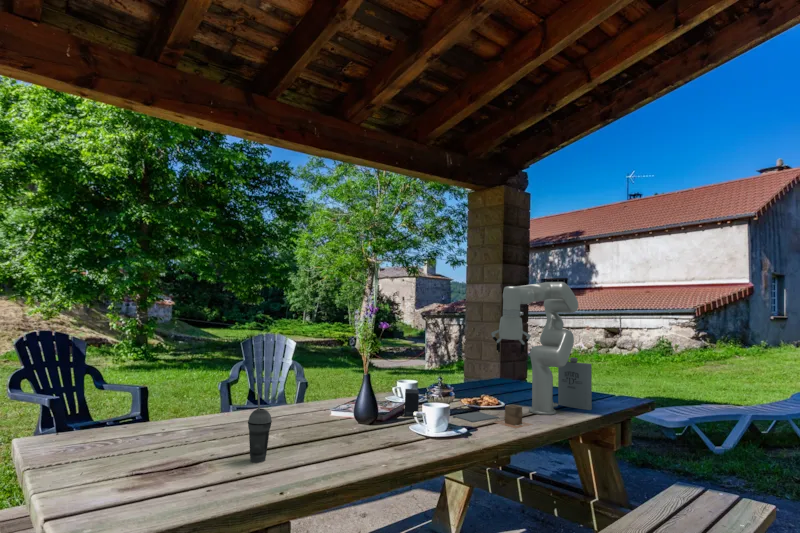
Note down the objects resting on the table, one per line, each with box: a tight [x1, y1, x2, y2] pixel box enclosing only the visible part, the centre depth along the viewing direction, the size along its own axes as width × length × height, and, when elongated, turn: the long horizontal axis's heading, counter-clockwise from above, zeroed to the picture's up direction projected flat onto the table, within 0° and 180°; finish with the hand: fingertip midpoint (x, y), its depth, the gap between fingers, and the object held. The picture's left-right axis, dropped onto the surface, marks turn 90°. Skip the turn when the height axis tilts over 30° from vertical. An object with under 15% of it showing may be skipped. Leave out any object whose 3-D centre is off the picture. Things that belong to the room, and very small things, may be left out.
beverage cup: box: [247, 393, 273, 464], centre depth 150 cm, size 7×7×20 cm
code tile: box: [493, 419, 534, 429], centre depth 204 cm, size 12×12×1 cm
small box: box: [403, 388, 420, 417], centre depth 221 cm, size 11×6×10 cm, turn 179°
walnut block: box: [504, 404, 523, 425], centre depth 204 cm, size 5×5×7 cm
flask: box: [557, 357, 593, 411], centre depth 249 cm, size 17×5×25 cm, turn 44°
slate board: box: [452, 411, 500, 423], centre depth 213 cm, size 16×12×2 cm
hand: (510, 352), depth 214 cm, fingers open, 9 cm apart
